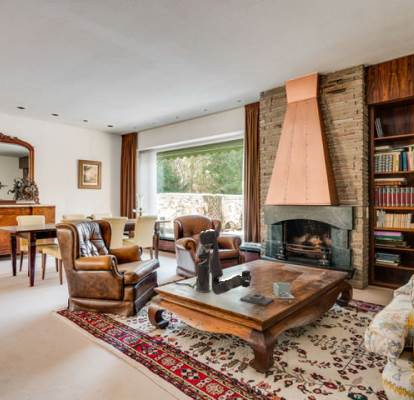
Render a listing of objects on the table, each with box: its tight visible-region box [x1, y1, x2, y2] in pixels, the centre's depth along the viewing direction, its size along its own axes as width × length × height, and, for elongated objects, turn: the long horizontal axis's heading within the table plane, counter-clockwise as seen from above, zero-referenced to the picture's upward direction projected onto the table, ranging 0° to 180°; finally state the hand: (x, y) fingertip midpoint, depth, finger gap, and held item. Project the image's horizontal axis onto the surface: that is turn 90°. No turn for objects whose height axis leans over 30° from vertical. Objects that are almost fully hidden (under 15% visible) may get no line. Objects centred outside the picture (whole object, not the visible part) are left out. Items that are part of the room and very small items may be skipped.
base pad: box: [240, 293, 275, 307], centre depth 213 cm, size 18×14×3 cm
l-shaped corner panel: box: [273, 282, 296, 299], centre depth 224 cm, size 12×12×8 cm
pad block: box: [241, 270, 251, 288], centre depth 208 cm, size 4×5×10 cm
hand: (247, 276), depth 210 cm, fingers closed on pad block, 3 cm apart
